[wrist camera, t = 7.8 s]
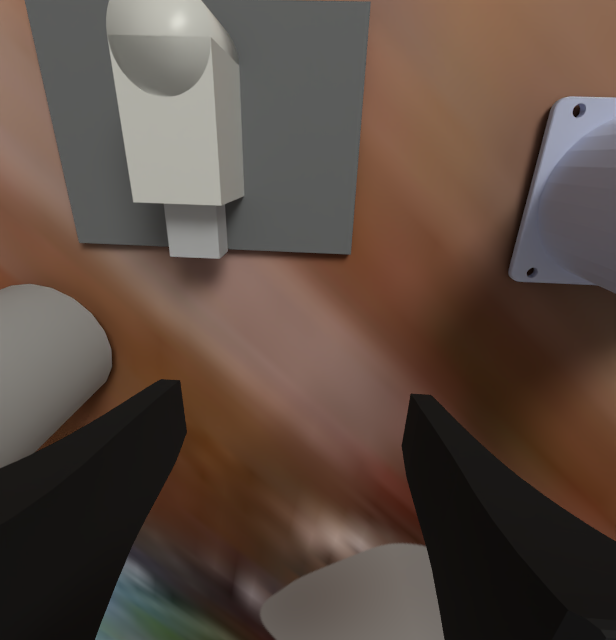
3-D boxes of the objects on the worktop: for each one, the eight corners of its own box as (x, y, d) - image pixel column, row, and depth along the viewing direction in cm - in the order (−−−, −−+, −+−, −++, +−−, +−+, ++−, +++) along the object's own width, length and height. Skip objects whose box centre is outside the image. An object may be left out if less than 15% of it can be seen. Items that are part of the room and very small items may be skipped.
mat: (369, 6, 15) (370, 1, 14) (350, 252, 19) (350, 254, 18) (32, 0, 15) (23, -4, 15) (84, 240, 19) (79, 242, 19)
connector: (154, 13, 15) (95, -35, 11) (237, 15, 15) (206, -33, 11) (180, 243, 19) (143, 263, 15) (246, 245, 18) (225, 267, 15)
